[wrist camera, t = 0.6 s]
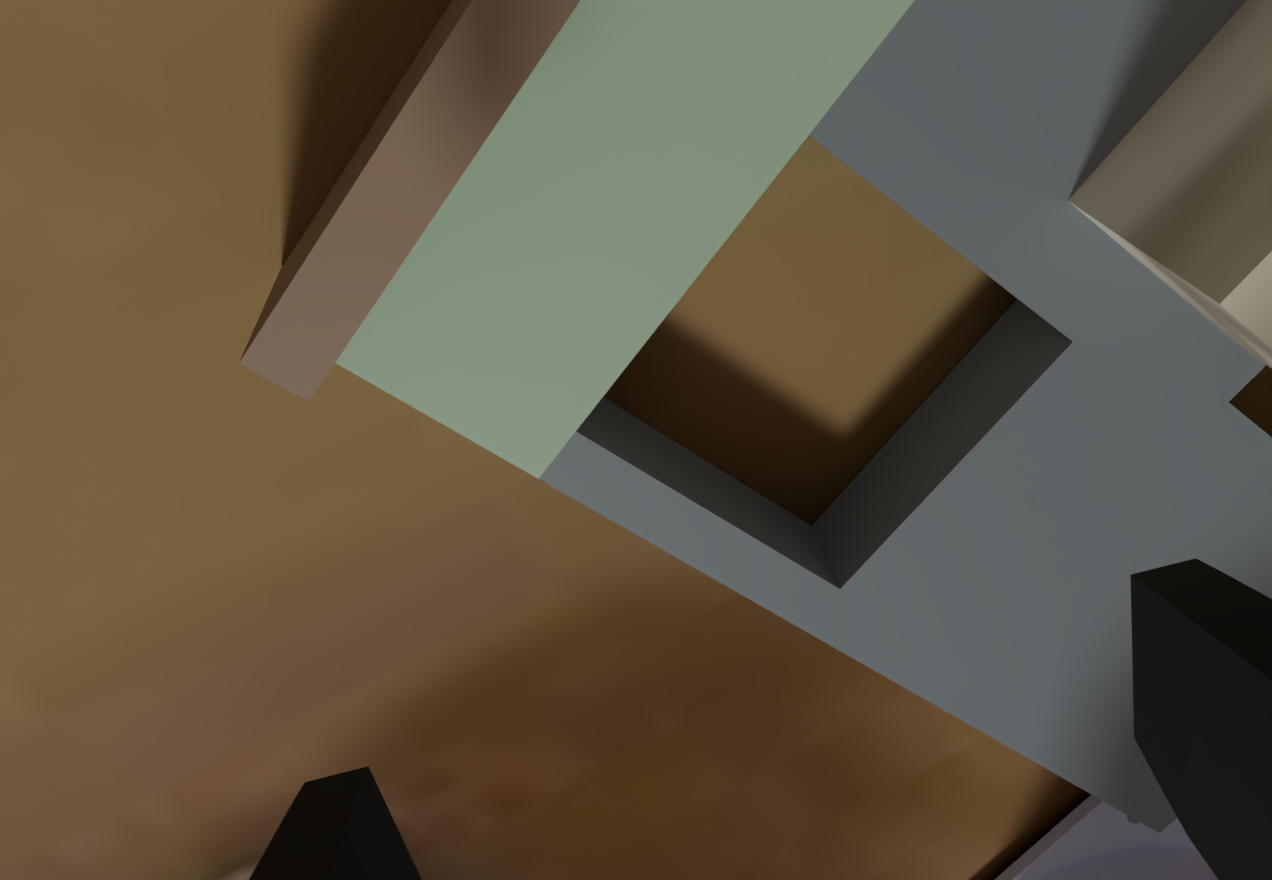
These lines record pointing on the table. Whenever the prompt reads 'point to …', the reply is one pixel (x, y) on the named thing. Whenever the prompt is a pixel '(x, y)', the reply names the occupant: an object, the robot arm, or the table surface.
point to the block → (1203, 183)
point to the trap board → (700, 224)
